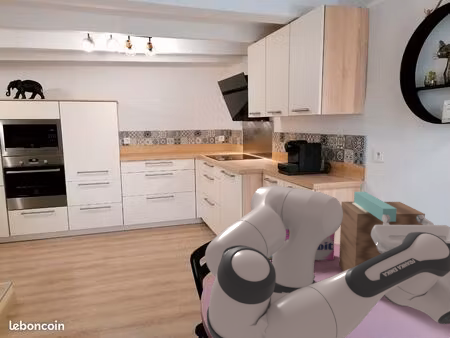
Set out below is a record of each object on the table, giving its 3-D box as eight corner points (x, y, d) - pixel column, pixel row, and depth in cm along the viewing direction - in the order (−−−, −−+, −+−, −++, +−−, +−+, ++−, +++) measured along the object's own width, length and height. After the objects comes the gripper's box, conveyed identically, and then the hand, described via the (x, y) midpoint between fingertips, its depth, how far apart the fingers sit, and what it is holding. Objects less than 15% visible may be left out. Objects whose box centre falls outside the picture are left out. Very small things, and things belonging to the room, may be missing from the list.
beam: (382, 221, 104) (383, 208, 103) (354, 202, 129) (354, 191, 129) (395, 221, 103) (396, 208, 103) (364, 202, 129) (365, 191, 129)
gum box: (331, 253, 149) (332, 222, 147) (337, 260, 141) (338, 228, 139) (276, 253, 148) (276, 223, 147) (279, 260, 140) (280, 229, 139)
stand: (354, 287, 117) (357, 212, 114) (339, 265, 135) (341, 200, 132) (419, 288, 116) (424, 213, 113) (395, 266, 134) (399, 201, 131)
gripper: (377, 264, 87) (361, 223, 98) (460, 264, 86) (435, 224, 97) (383, 247, 83) (366, 208, 94) (470, 248, 82) (443, 208, 93)
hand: (402, 216), depth 95 cm, fingers open, 8 cm apart
